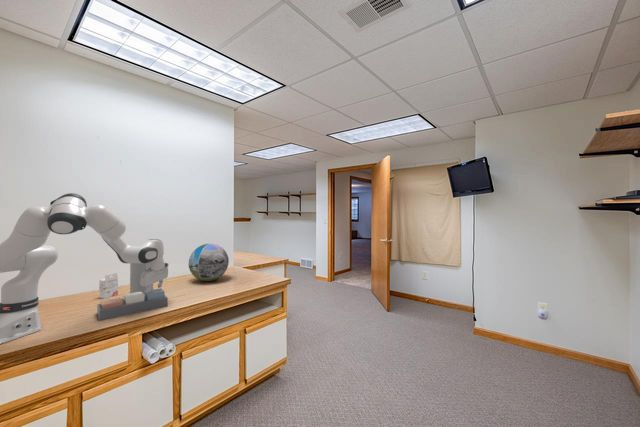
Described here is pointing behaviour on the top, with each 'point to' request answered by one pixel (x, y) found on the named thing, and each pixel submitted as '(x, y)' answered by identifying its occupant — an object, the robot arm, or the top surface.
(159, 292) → the slate key
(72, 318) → the top surface
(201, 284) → the top surface
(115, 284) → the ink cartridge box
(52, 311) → the top surface
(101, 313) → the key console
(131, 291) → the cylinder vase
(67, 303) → the top surface
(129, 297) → the white key
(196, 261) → the grey textured ball
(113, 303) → the terracotta key
